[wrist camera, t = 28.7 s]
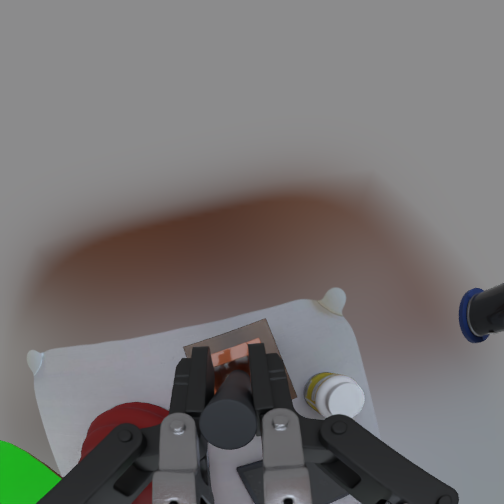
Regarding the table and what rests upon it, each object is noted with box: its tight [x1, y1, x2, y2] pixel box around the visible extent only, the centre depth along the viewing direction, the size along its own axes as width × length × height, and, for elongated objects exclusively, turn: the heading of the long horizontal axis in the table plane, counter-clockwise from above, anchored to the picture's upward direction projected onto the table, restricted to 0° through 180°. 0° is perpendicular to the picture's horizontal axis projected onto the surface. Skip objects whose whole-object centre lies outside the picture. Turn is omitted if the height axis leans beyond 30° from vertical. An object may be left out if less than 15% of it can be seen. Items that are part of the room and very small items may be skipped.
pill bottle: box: [304, 372, 365, 418], centre depth 32 cm, size 6×6×11 cm
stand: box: [183, 318, 297, 399], centre depth 32 cm, size 9×9×14 cm
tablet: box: [237, 460, 349, 504], centre depth 31 cm, size 18×14×1 cm
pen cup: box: [211, 338, 261, 395], centre depth 22 cm, size 5×5×8 cm
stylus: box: [199, 370, 257, 450], centre depth 14 cm, size 2×2×14 cm
